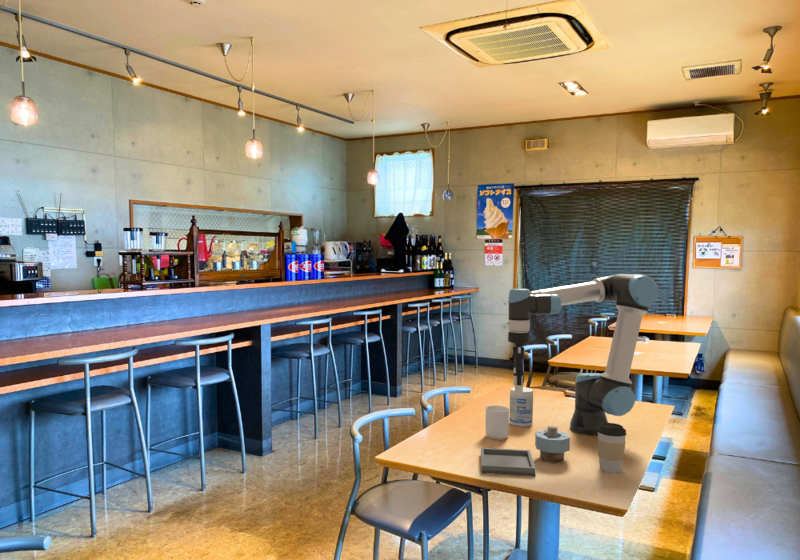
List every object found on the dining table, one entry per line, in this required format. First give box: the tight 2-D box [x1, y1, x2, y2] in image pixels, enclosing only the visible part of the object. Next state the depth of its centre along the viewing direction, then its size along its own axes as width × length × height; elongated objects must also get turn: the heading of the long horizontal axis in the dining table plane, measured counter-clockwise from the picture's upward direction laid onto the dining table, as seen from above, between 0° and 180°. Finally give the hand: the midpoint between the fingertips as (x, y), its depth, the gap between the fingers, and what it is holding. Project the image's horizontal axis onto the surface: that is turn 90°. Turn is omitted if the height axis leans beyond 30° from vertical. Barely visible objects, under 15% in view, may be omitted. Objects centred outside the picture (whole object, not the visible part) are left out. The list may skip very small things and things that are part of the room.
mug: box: [485, 405, 510, 441], centre depth 219 cm, size 12×9×11 cm
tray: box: [480, 447, 536, 477], centre depth 188 cm, size 17×17×2 cm
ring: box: [534, 429, 571, 454], centre depth 194 cm, size 11×11×4 cm
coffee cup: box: [597, 422, 627, 474], centre depth 185 cm, size 9×9×15 cm
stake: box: [539, 425, 565, 464], centre depth 194 cm, size 8×8×11 cm
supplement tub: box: [509, 386, 534, 428], centre depth 235 cm, size 10×10×15 cm
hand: (517, 389), depth 204 cm, fingers open, 13 cm apart
